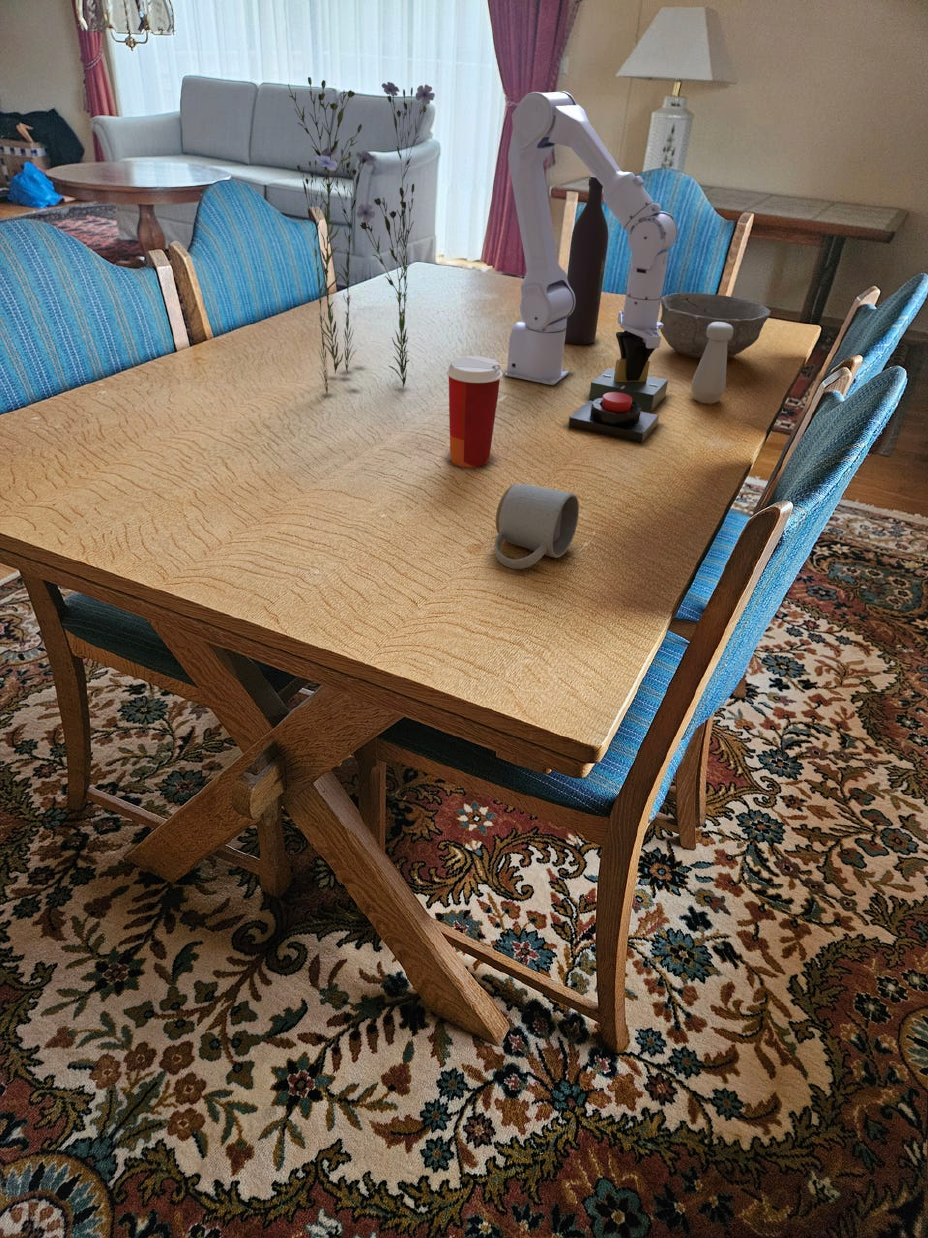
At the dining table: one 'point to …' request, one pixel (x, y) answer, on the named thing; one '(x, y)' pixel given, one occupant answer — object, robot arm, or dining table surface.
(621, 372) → the dimmer knob
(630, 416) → the switch box
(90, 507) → the dining table surface
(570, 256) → the wine bottle
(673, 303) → the bowl
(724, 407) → the dining table surface
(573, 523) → the ceramic mug
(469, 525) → the dining table surface
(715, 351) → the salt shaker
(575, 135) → the robot arm
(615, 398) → the light button
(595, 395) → the panel
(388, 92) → the wildflower
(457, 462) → the paper cup
